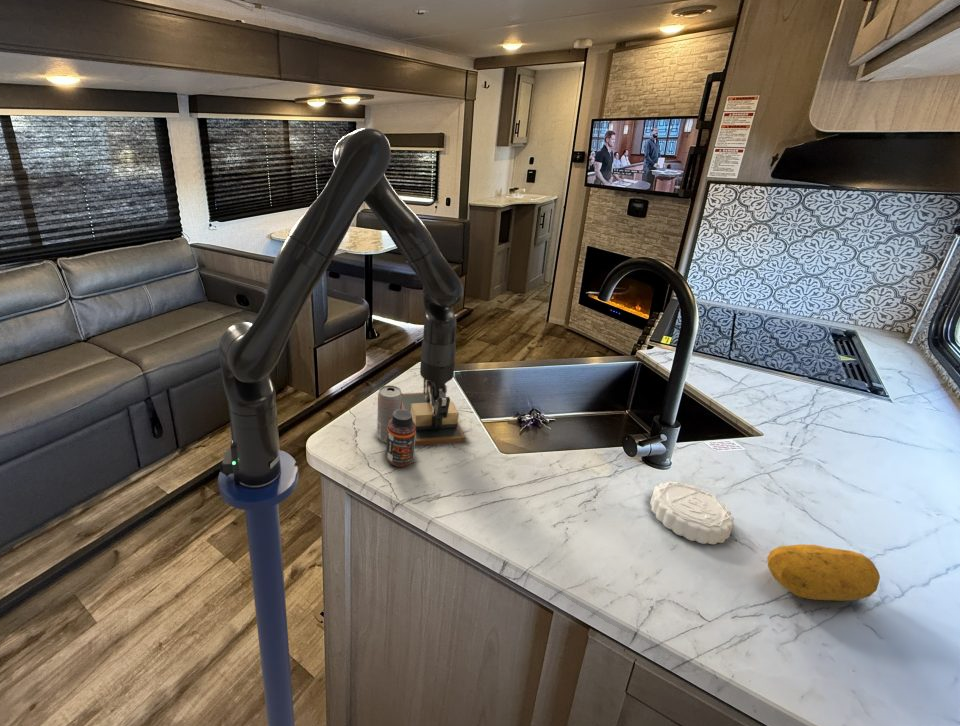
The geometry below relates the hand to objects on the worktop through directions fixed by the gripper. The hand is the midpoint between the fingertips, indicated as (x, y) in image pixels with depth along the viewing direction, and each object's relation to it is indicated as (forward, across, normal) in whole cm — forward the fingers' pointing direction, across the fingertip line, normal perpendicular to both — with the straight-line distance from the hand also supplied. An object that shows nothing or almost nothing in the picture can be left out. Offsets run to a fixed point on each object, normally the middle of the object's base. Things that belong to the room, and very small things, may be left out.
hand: (433, 420), depth 108 cm
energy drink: (+2, +2, -11) cm, 11 cm away
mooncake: (+2, +32, +39) cm, 51 cm away
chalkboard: (+2, -4, 0) cm, 4 cm away
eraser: (0, 0, 0) cm, 0 cm away
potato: (+2, +47, +47) cm, 67 cm away
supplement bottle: (+2, +10, -10) cm, 14 cm away
